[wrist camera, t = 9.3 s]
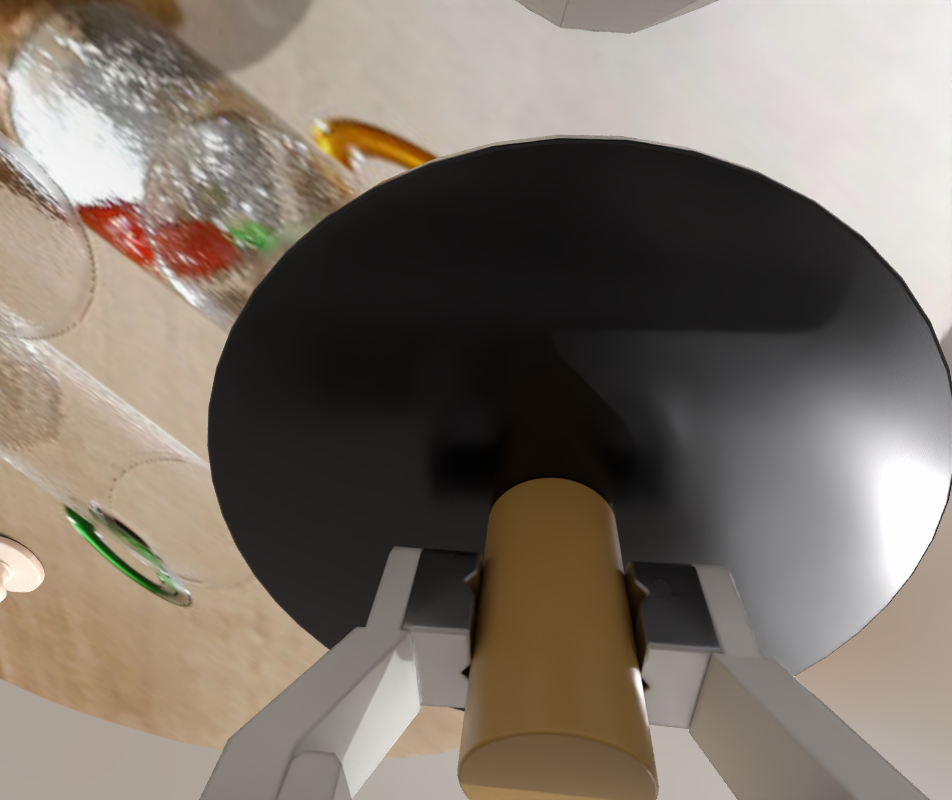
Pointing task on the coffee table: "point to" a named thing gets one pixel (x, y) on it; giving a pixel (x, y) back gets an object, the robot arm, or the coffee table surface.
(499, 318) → the lid
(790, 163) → the coffee table surface
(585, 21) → the pot
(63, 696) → the coffee table surface
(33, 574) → the candlestick
